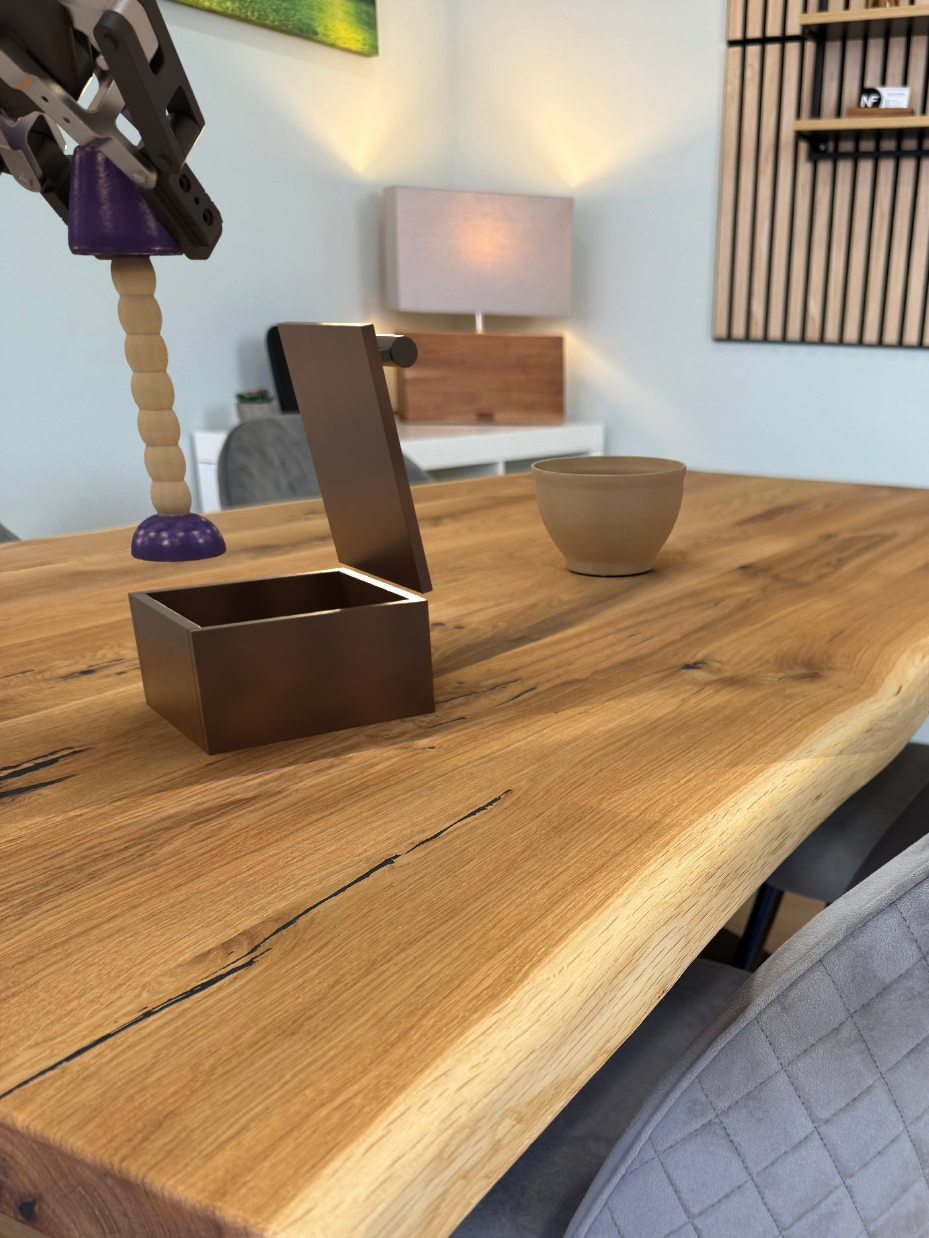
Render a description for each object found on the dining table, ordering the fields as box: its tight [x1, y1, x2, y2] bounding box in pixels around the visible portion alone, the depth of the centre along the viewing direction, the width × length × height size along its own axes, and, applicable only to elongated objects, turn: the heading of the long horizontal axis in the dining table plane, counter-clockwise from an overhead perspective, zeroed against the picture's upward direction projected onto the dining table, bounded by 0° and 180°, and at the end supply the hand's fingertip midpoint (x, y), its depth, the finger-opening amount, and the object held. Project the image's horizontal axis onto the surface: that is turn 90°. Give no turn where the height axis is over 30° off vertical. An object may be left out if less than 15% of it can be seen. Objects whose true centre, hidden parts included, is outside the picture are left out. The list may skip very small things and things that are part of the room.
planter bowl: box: [530, 454, 687, 577], centre depth 128 cm, size 16×16×11 cm
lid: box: [276, 321, 434, 595], centre depth 76 cm, size 15×13×5 cm
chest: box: [127, 567, 436, 756], centre depth 77 cm, size 15×13×9 cm
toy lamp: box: [67, 144, 227, 563], centre depth 53 cm, size 5×5×17 cm
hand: (160, 244), depth 53 cm, fingers closed on toy lamp, 4 cm apart
